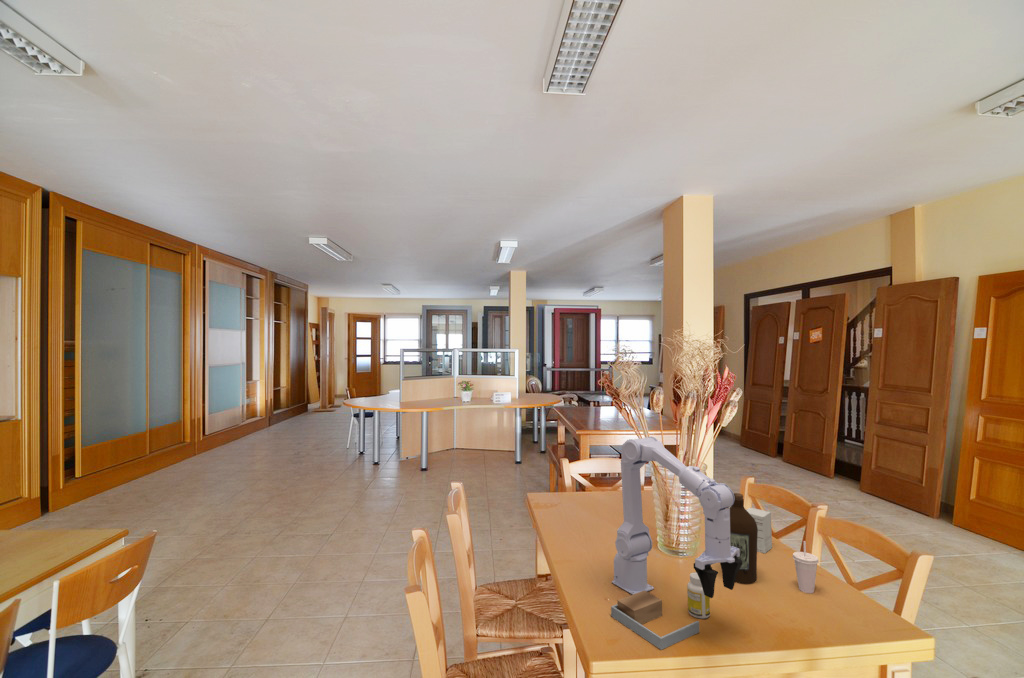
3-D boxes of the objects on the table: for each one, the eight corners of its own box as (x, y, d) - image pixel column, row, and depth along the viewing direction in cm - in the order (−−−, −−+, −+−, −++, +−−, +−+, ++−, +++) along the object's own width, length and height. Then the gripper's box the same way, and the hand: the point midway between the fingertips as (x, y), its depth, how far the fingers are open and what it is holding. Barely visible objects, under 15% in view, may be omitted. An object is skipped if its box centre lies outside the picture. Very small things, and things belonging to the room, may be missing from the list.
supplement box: (750, 542, 170) (749, 506, 171) (772, 548, 165) (771, 511, 165) (742, 547, 165) (741, 511, 166) (765, 554, 160) (764, 516, 160)
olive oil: (724, 566, 151) (722, 487, 152) (761, 575, 144) (759, 493, 145) (716, 578, 142) (714, 495, 143) (755, 588, 136) (753, 501, 137)
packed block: (617, 615, 122) (617, 600, 122) (644, 605, 127) (644, 590, 127) (634, 627, 117) (634, 610, 117) (662, 615, 122) (662, 600, 122)
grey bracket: (611, 616, 122) (611, 606, 122) (648, 602, 129) (647, 592, 129) (661, 649, 108) (660, 638, 108) (699, 632, 115) (699, 621, 115)
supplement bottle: (704, 607, 126) (703, 570, 126) (713, 619, 120) (713, 580, 121) (684, 608, 125) (683, 571, 126) (693, 619, 120) (692, 580, 120)
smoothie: (791, 590, 135) (789, 541, 135) (796, 582, 140) (794, 534, 140) (817, 598, 130) (815, 547, 131) (821, 589, 135) (820, 540, 136)
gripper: (712, 547, 107) (714, 607, 107) (750, 534, 115) (752, 591, 114) (687, 537, 114) (688, 594, 113) (724, 525, 121) (726, 579, 120)
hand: (718, 591), depth 114 cm, fingers open, 7 cm apart
